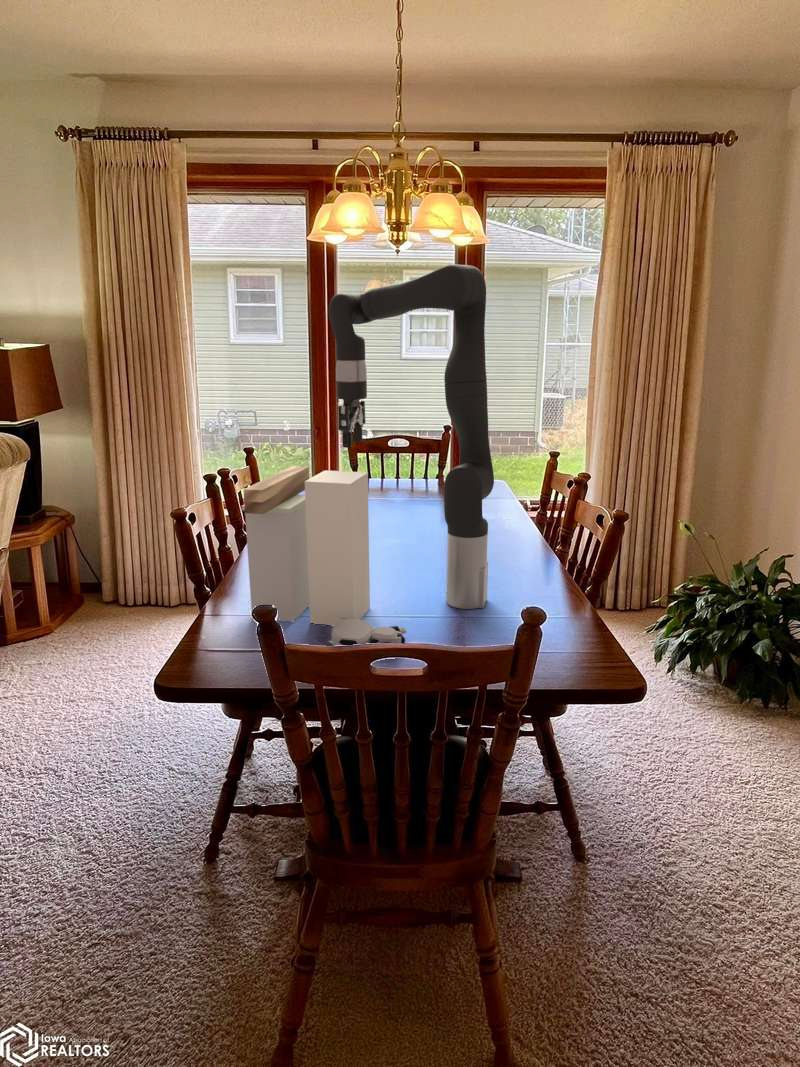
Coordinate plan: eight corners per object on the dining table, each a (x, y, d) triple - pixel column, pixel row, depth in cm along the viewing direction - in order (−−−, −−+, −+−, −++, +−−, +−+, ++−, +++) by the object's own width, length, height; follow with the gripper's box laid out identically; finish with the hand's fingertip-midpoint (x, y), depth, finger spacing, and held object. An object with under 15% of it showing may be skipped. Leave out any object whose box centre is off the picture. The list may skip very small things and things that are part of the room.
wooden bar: (309, 487, 170) (308, 466, 169) (262, 514, 146) (261, 490, 145) (294, 486, 171) (293, 465, 170) (244, 513, 147) (243, 489, 146)
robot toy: (406, 640, 151) (337, 632, 152) (408, 620, 150) (337, 613, 151) (400, 667, 139) (325, 658, 141) (402, 645, 138) (326, 637, 139)
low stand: (316, 601, 170) (312, 495, 162) (294, 623, 158) (289, 508, 150) (273, 597, 172) (267, 492, 165) (249, 618, 160) (241, 505, 153)
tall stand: (369, 608, 166) (367, 472, 157) (353, 628, 155) (350, 483, 146) (329, 604, 168) (324, 470, 159) (310, 623, 157) (304, 481, 148)
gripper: (356, 381, 168) (358, 449, 173) (374, 377, 181) (375, 441, 186) (326, 381, 170) (329, 448, 175) (346, 376, 183) (347, 439, 188)
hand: (352, 444), depth 180 cm, fingers open, 8 cm apart
